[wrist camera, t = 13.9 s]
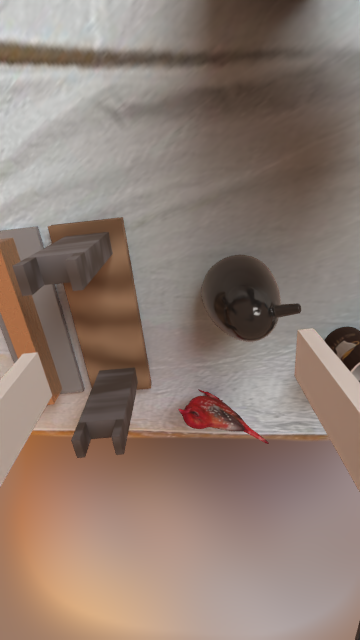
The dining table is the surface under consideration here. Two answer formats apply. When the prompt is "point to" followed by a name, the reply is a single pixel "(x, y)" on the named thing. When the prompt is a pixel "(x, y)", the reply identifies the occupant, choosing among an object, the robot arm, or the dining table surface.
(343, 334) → the coffee mug
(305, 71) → the dining table surface
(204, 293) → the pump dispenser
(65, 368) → the rubber mat
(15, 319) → the copper rail
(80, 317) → the rail stand
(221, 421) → the decorative bird figurine
